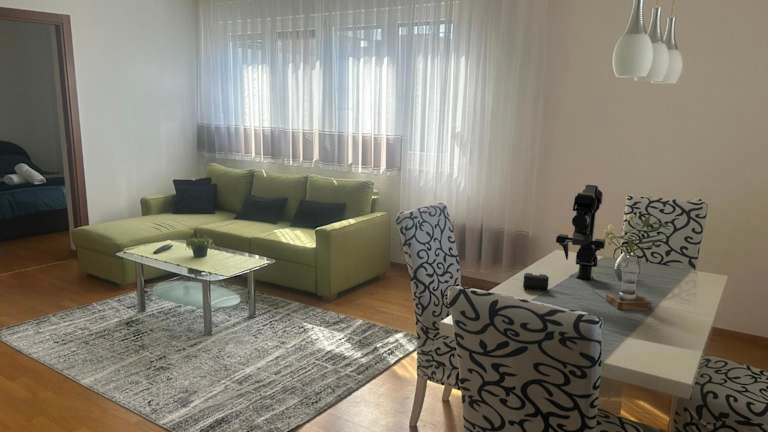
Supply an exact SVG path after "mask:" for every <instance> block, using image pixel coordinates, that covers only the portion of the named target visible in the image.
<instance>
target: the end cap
mask: <svg viewBox="0 0 768 432" xmlns="http://www.w3.org/2000/svg"><path fill="white" fill-rule="evenodd" d="M549 281H550V277H549V275H548V276H547V274H544V273H539V274H533V273H532V272H525V273H524V274H523V282H522V283H523V285H522V287H523V289H524V290H527V291H528V290H529V291H530V290H531V291H538V292H547V291H549V288H548V287H549Z"/></svg>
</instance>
